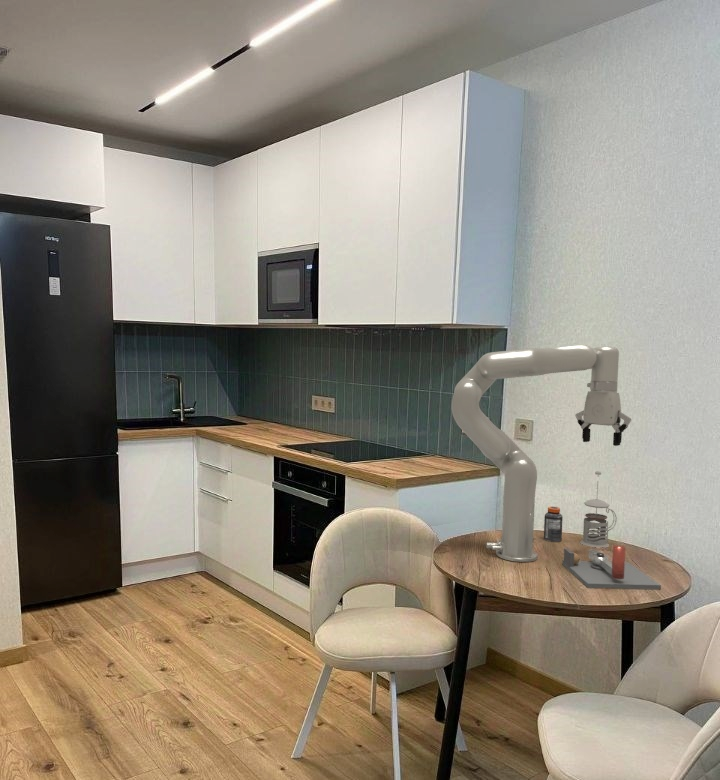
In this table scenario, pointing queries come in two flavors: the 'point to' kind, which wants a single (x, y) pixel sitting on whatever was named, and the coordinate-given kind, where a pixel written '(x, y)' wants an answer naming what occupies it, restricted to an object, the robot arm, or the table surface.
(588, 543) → the french press
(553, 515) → the pill bottle
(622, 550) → the lever
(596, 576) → the base
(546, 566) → the table surface
